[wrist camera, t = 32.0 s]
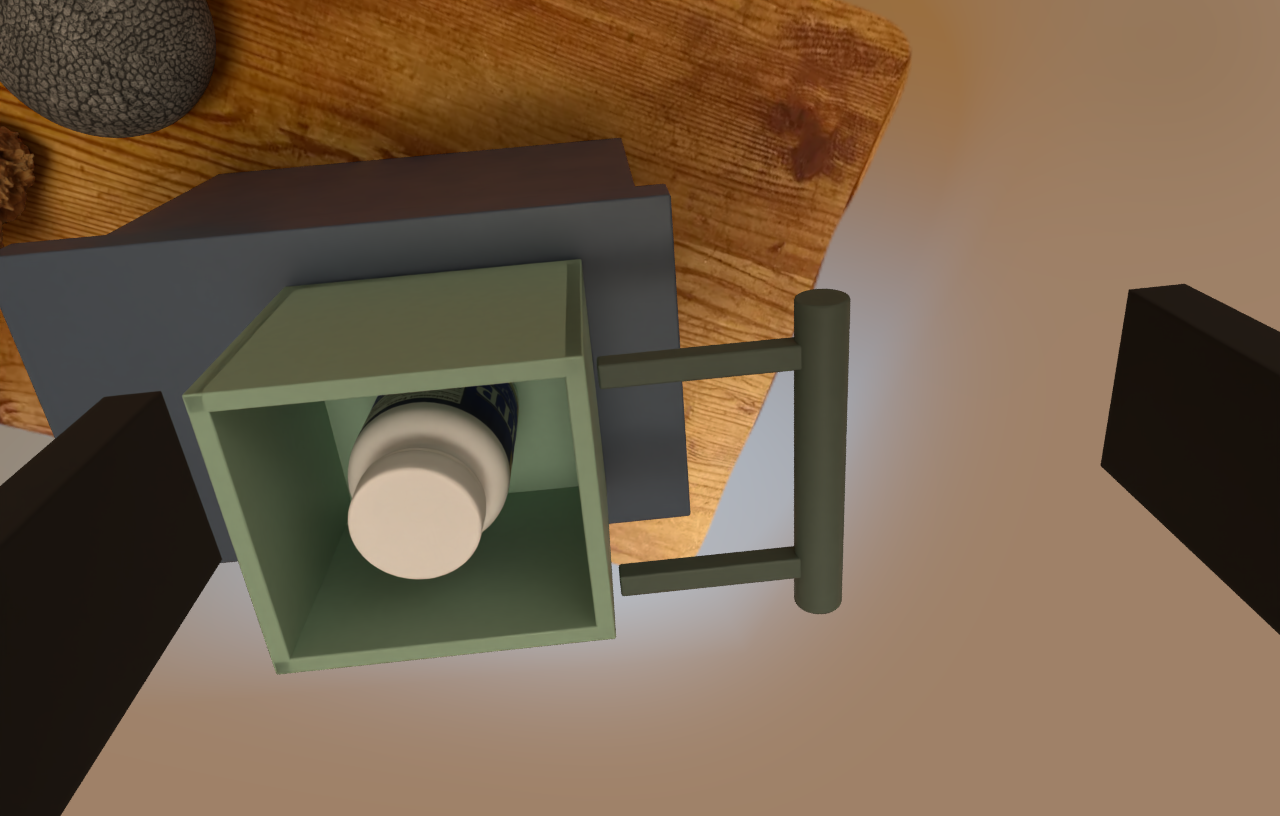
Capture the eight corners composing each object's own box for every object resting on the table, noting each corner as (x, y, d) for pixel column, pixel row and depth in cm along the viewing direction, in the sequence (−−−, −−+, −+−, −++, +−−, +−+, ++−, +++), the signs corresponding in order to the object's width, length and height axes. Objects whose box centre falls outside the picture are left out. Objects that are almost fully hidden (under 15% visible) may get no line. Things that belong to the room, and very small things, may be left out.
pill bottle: (533, 448, 35) (520, 584, 27) (404, 470, 35) (355, 612, 28) (502, 326, 33) (480, 435, 25) (365, 350, 33) (299, 467, 25)
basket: (789, 225, 33) (864, 311, 24) (789, 479, 38) (853, 626, 29) (280, 273, 32) (175, 378, 24) (347, 524, 37) (279, 687, 29)
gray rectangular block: (637, 117, 50) (670, 194, 32) (654, 345, 56) (690, 516, 38) (195, 157, 50) (-22, 258, 32) (261, 383, 56) (111, 575, 38)
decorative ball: (253, -50, 45) (173, -58, 36) (235, 143, 49) (160, 179, 40) (43, -113, 44) (-95, -137, 35) (43, 93, 48) (-81, 119, 39)
